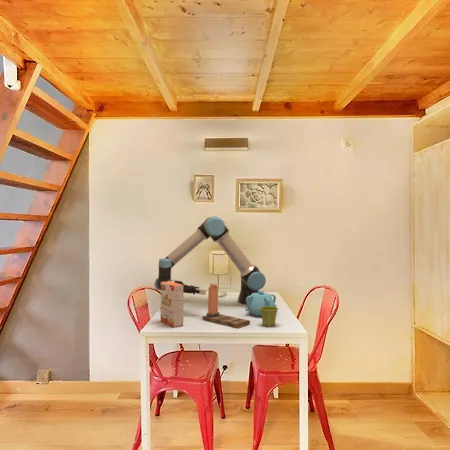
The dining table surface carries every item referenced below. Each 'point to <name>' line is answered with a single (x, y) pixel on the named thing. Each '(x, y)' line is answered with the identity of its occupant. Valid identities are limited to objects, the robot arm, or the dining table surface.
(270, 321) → the plant pot
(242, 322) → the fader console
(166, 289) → the cracker box
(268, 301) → the decorative pot
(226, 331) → the dining table surface
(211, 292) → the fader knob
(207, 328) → the dining table surface
